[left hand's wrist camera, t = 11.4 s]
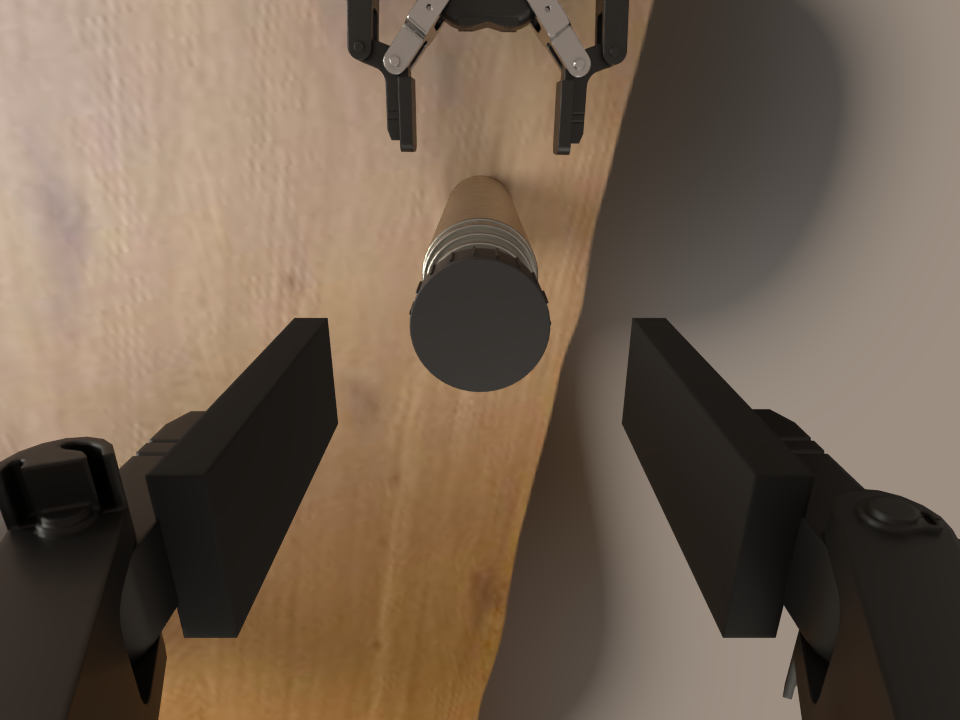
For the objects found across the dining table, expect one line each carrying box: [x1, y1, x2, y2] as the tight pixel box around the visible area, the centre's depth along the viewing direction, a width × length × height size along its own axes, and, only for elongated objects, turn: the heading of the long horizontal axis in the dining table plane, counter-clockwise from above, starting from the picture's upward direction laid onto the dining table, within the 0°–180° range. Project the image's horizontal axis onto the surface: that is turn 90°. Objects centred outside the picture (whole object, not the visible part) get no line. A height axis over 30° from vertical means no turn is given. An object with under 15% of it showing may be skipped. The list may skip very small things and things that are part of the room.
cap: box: [409, 246, 551, 392], centre depth 18 cm, size 4×4×2 cm
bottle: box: [422, 176, 538, 281], centre depth 29 cm, size 4×4×25 cm
